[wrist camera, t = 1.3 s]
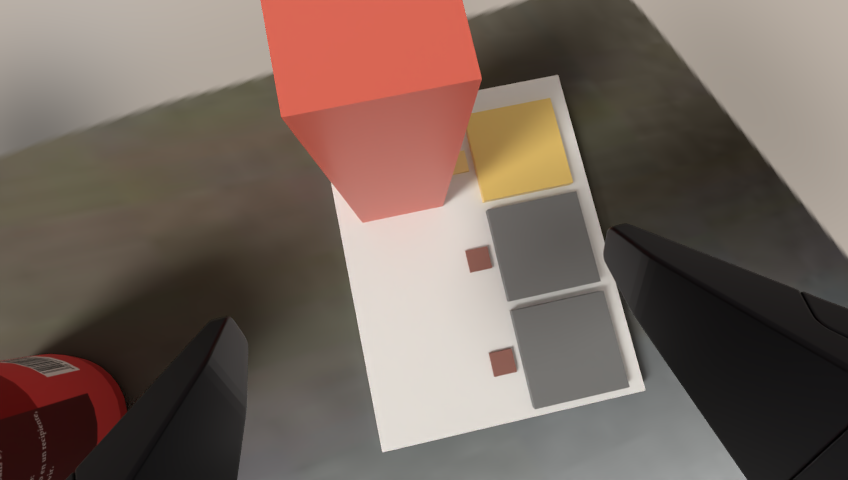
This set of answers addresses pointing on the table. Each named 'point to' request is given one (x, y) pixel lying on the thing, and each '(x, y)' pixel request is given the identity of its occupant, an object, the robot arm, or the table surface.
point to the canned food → (53, 414)
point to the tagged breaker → (517, 150)
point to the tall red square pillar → (376, 94)
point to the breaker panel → (488, 300)
